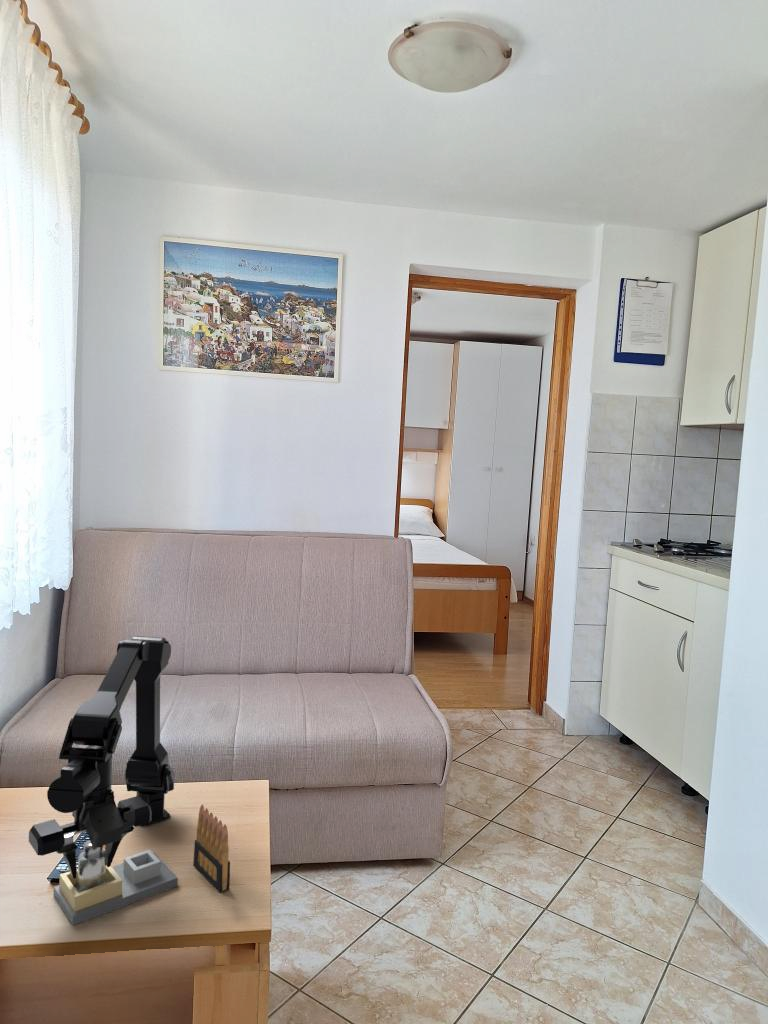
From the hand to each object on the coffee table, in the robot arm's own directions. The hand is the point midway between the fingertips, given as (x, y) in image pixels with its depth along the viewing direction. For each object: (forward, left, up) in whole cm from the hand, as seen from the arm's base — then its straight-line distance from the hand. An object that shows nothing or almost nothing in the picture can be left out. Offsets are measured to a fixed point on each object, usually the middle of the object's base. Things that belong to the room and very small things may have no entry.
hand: (91, 871), depth 120 cm
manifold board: (0, +4, -5) cm, 7 cm away
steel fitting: (0, 0, -3) cm, 3 cm away
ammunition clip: (+6, +19, -5) cm, 21 cm away
